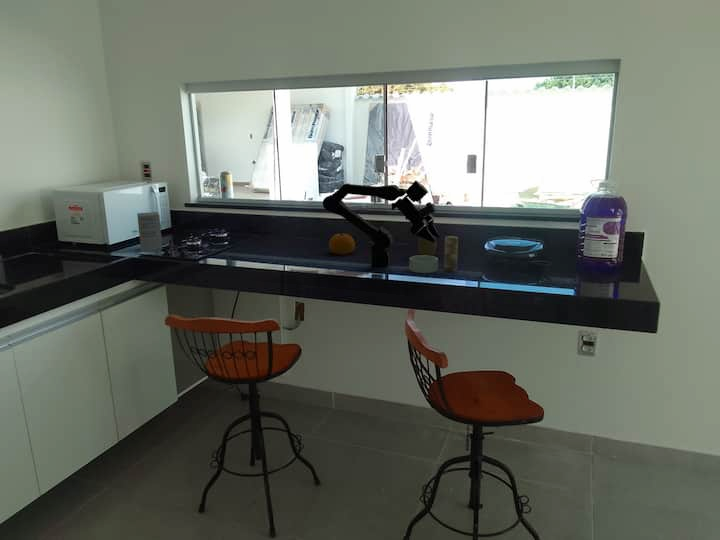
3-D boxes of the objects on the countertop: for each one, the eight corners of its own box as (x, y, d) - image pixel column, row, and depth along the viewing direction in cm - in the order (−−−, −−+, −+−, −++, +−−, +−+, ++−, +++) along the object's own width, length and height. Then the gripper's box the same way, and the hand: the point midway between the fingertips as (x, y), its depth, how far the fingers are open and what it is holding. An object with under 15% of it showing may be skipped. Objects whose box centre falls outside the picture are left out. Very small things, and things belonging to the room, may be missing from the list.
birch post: (443, 271, 216) (444, 238, 213) (444, 268, 221) (445, 236, 218) (456, 271, 216) (458, 238, 212) (456, 268, 220) (458, 236, 217)
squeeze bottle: (415, 255, 242) (415, 215, 238) (421, 252, 249) (422, 212, 245) (432, 257, 239) (433, 216, 234) (438, 253, 246) (440, 213, 241)
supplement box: (140, 248, 264) (136, 213, 260) (161, 246, 268) (157, 211, 263) (142, 252, 255) (138, 215, 251) (163, 250, 259) (159, 214, 255)
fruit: (356, 250, 254) (356, 229, 252) (353, 256, 243) (353, 233, 241) (331, 250, 255) (330, 228, 253) (327, 255, 244) (326, 233, 242)
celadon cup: (408, 272, 215) (408, 261, 214) (410, 265, 225) (410, 254, 224) (437, 273, 213) (437, 262, 212) (438, 266, 223) (438, 255, 222)
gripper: (419, 199, 206) (448, 229, 205) (428, 193, 223) (455, 221, 223) (398, 219, 210) (426, 249, 210) (409, 212, 227) (435, 240, 227)
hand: (436, 239), depth 217 cm, fingers open, 9 cm apart
